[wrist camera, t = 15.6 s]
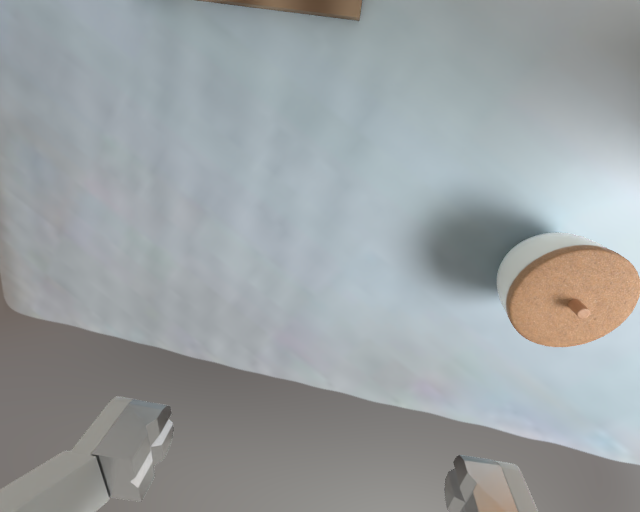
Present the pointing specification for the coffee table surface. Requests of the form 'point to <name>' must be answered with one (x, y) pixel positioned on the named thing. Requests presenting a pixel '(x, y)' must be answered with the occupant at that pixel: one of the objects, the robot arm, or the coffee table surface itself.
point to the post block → (304, 6)
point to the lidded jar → (566, 289)
